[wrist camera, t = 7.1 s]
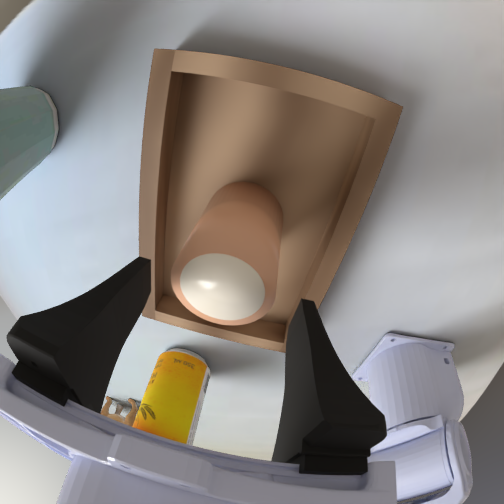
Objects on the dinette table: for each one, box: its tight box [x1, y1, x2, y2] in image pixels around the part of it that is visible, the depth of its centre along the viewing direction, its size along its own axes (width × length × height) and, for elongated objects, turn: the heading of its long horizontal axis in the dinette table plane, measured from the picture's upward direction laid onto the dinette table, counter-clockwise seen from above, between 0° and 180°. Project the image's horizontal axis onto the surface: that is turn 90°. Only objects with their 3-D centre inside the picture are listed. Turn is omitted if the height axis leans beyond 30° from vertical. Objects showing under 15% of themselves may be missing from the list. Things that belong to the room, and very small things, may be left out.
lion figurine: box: [100, 396, 138, 427], centre depth 40 cm, size 15×5×9 cm, turn 119°
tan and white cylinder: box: [171, 182, 283, 325], centre depth 17 cm, size 5×5×7 cm
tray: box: [139, 49, 403, 353], centre depth 19 cm, size 13×20×3 cm, turn 168°
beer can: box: [132, 348, 210, 446], centre depth 26 cm, size 6×6×15 cm
